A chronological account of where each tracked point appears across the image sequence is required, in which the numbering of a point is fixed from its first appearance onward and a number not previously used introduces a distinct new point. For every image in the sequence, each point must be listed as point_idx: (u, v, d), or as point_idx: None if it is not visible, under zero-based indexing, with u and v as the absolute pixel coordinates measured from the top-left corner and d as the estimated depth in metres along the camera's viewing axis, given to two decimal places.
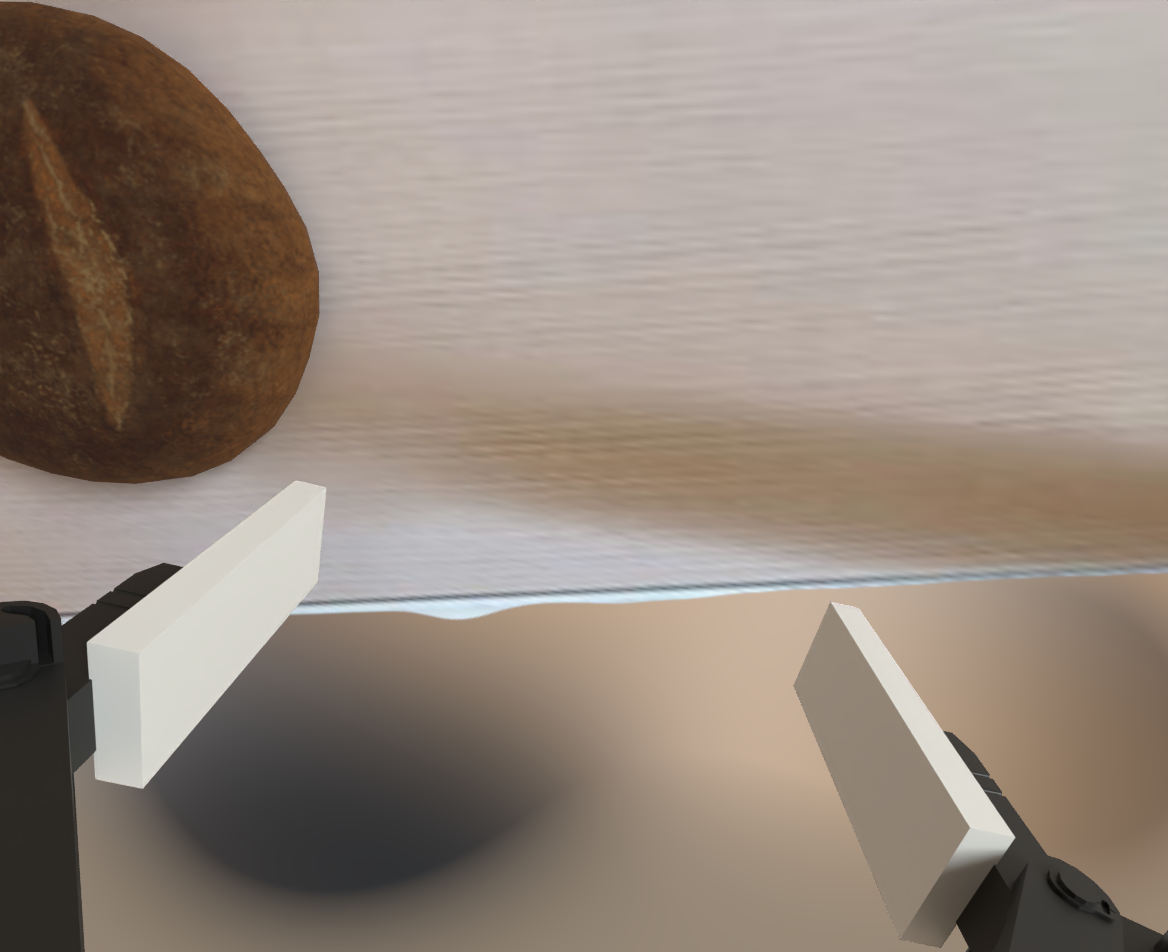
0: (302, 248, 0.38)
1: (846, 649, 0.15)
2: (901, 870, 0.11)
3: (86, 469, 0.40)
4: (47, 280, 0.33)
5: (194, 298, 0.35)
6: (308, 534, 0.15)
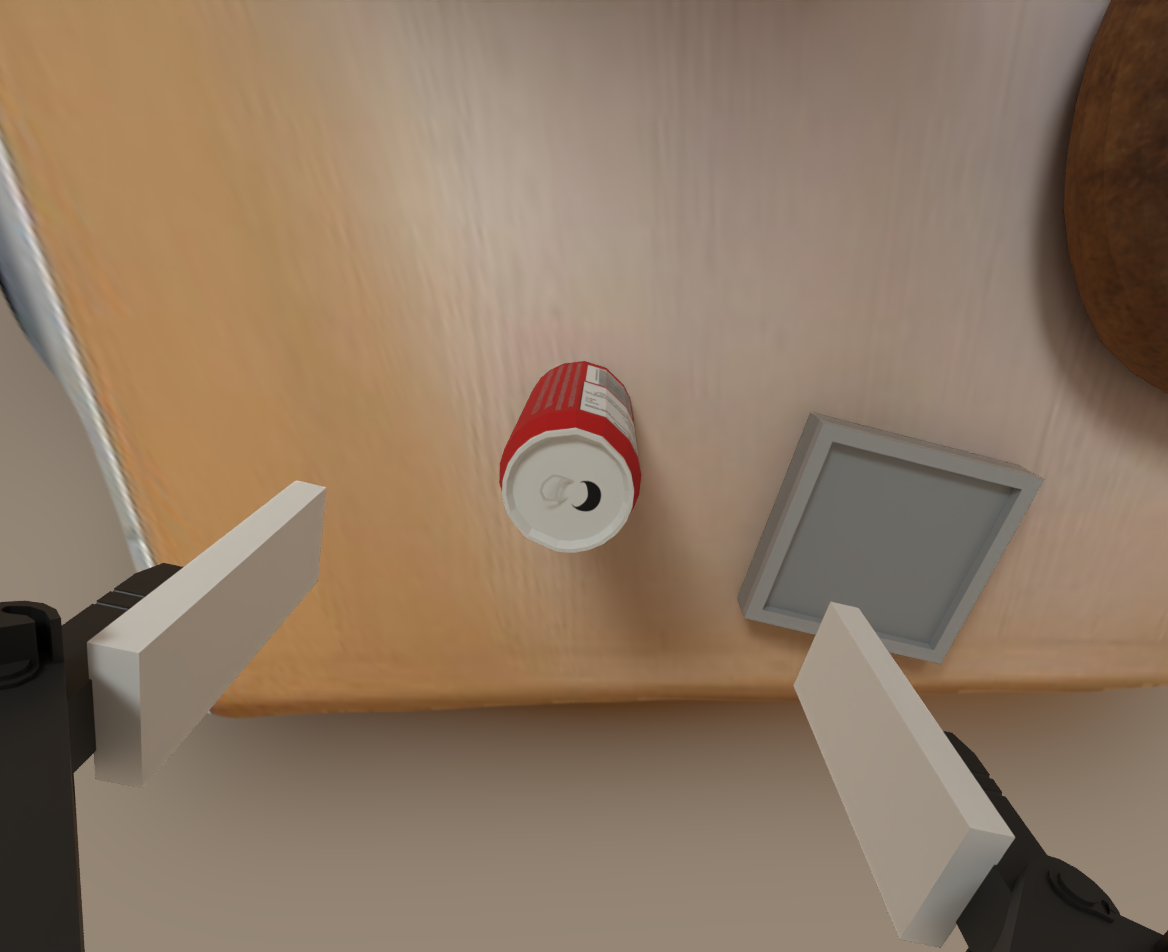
0: None
1: (845, 649, 0.15)
2: (901, 870, 0.11)
3: None
4: None
5: None
6: (308, 534, 0.15)
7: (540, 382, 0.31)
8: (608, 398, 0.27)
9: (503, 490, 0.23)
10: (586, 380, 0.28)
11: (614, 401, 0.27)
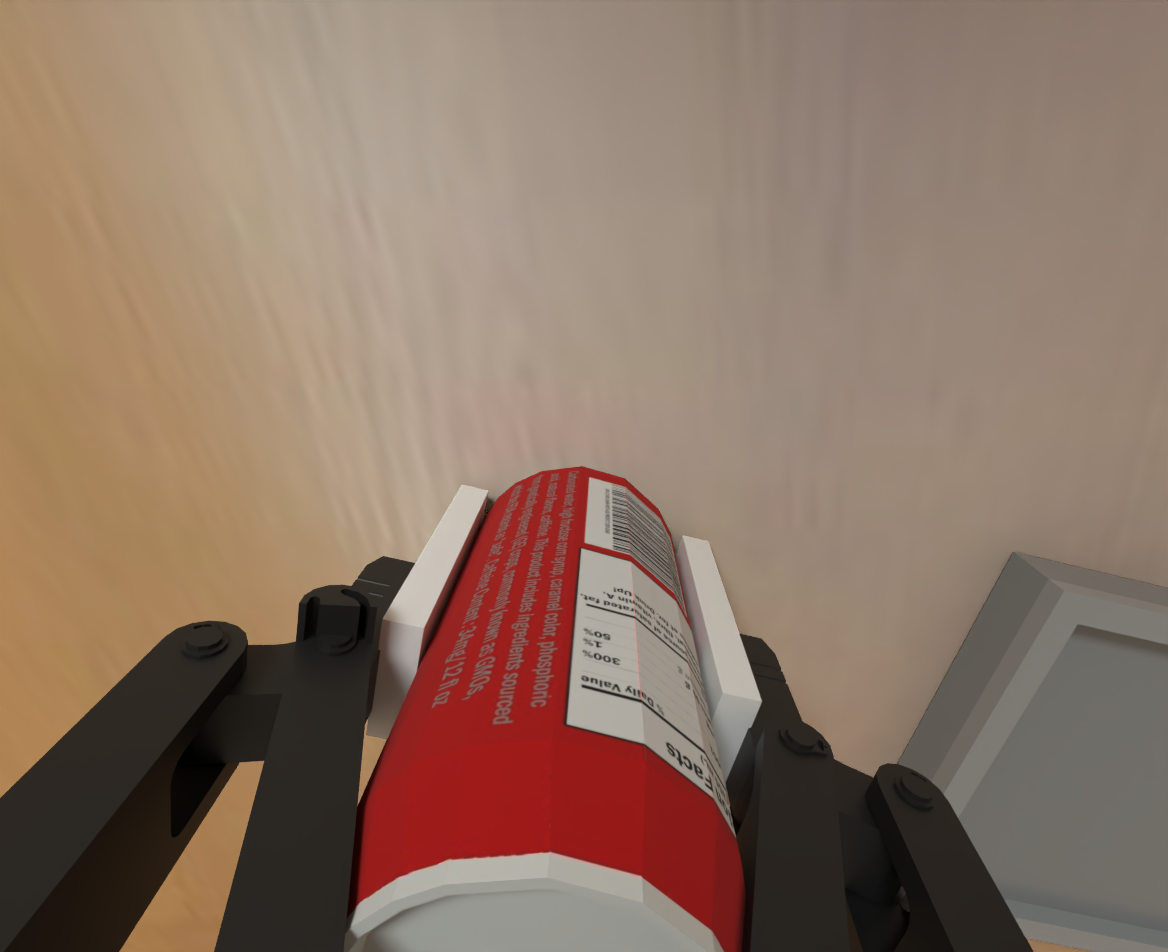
0: None
1: (684, 573, 0.16)
2: None
3: None
4: None
5: None
6: (477, 532, 0.17)
7: (493, 518, 0.15)
8: (639, 608, 0.11)
9: None
10: (586, 541, 0.13)
11: (652, 604, 0.12)
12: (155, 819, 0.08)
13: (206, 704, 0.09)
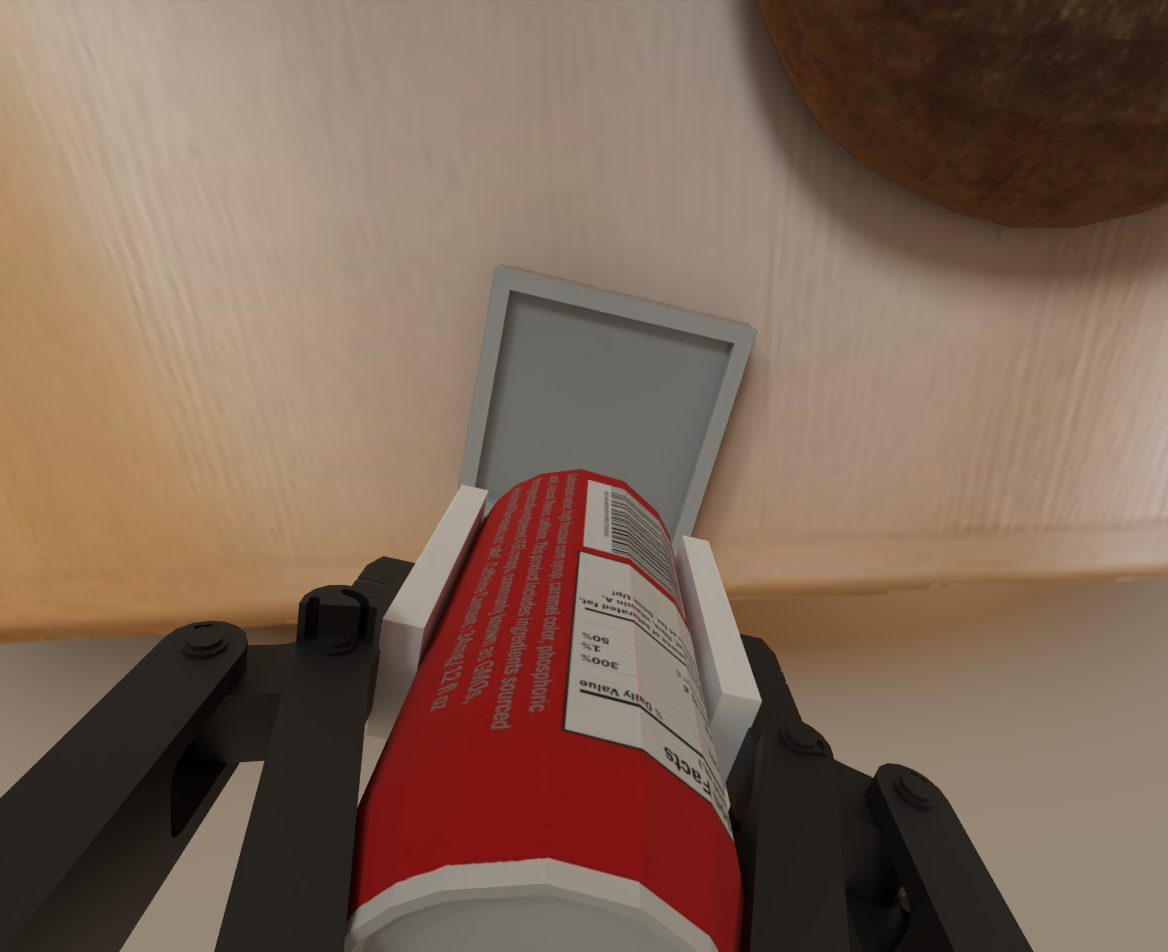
0: None
1: (684, 573, 0.16)
2: None
3: None
4: None
5: None
6: (477, 532, 0.17)
7: (492, 520, 0.15)
8: (638, 611, 0.11)
9: None
10: (584, 545, 0.13)
11: (651, 607, 0.12)
12: (155, 819, 0.08)
13: (206, 704, 0.09)
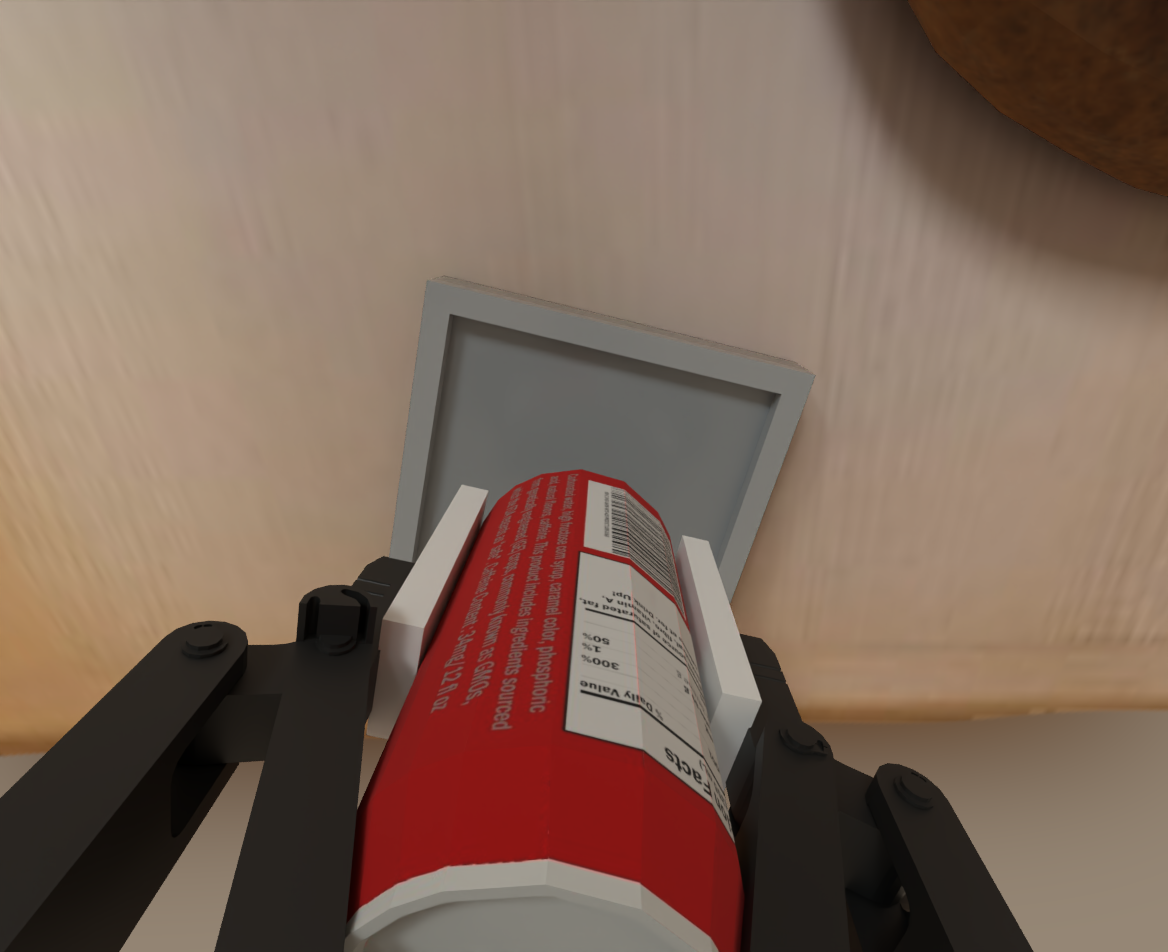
0: None
1: (684, 573, 0.16)
2: None
3: None
4: None
5: None
6: (477, 532, 0.17)
7: (492, 521, 0.15)
8: (638, 612, 0.11)
9: None
10: (585, 545, 0.13)
11: (651, 608, 0.12)
12: (155, 819, 0.08)
13: (206, 704, 0.09)
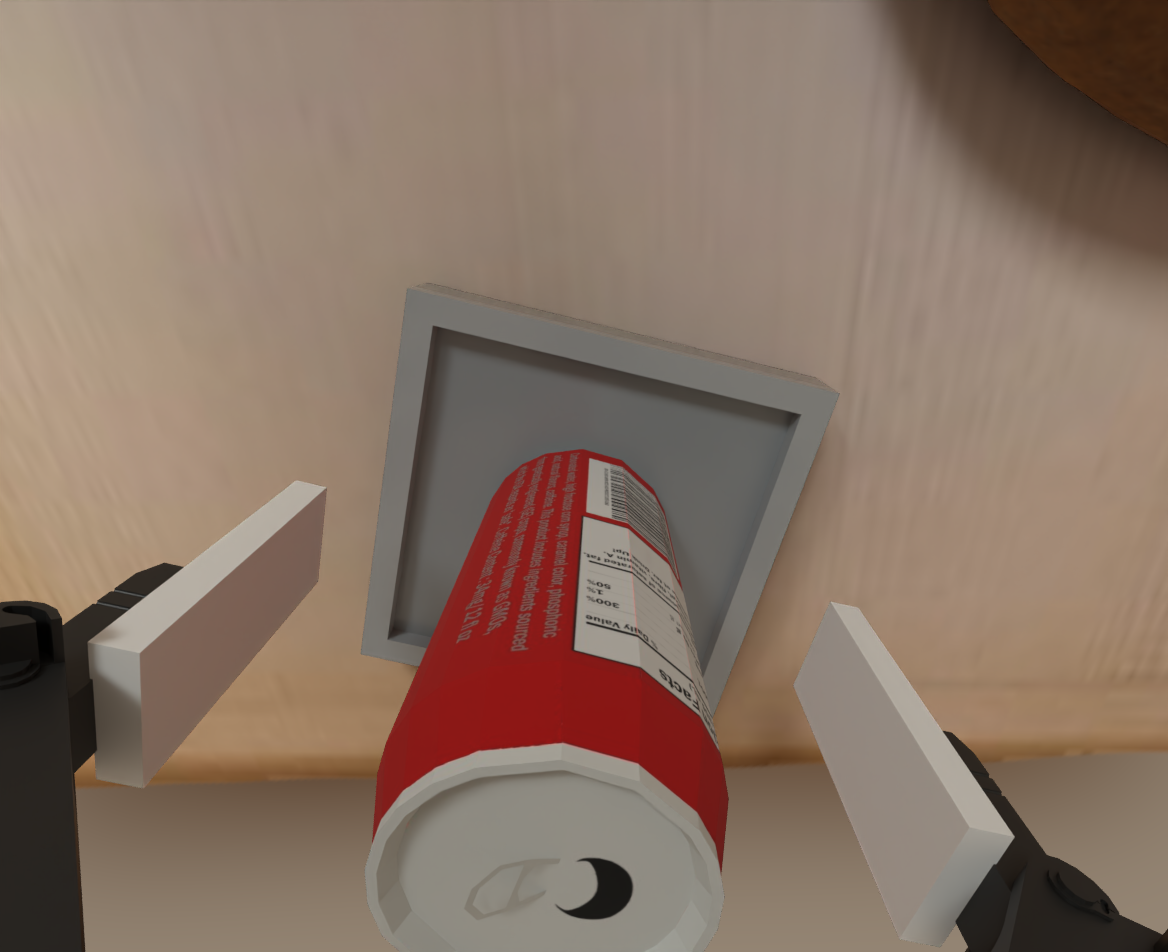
0: None
1: (845, 649, 0.15)
2: (901, 870, 0.11)
3: None
4: None
5: None
6: (308, 534, 0.15)
7: (501, 495, 0.17)
8: (636, 565, 0.12)
9: (370, 890, 0.09)
10: (587, 511, 0.14)
11: (647, 564, 0.13)
12: None
13: None
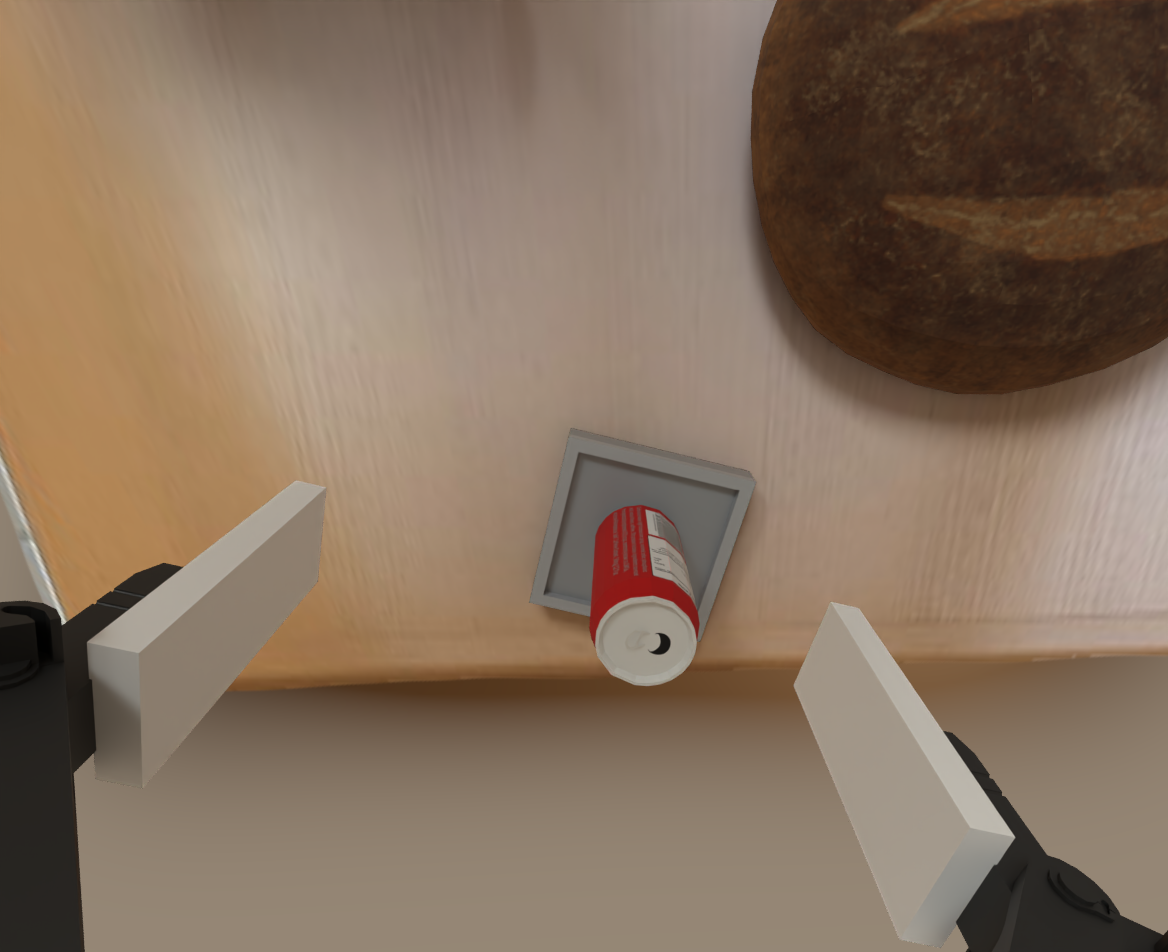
0: None
1: (846, 649, 0.15)
2: (901, 870, 0.11)
3: None
4: (1125, 17, 0.25)
5: None
6: (308, 534, 0.15)
7: (607, 525, 0.39)
8: (669, 553, 0.34)
9: (596, 640, 0.30)
10: (649, 533, 0.36)
11: (673, 553, 0.35)
12: None
13: None
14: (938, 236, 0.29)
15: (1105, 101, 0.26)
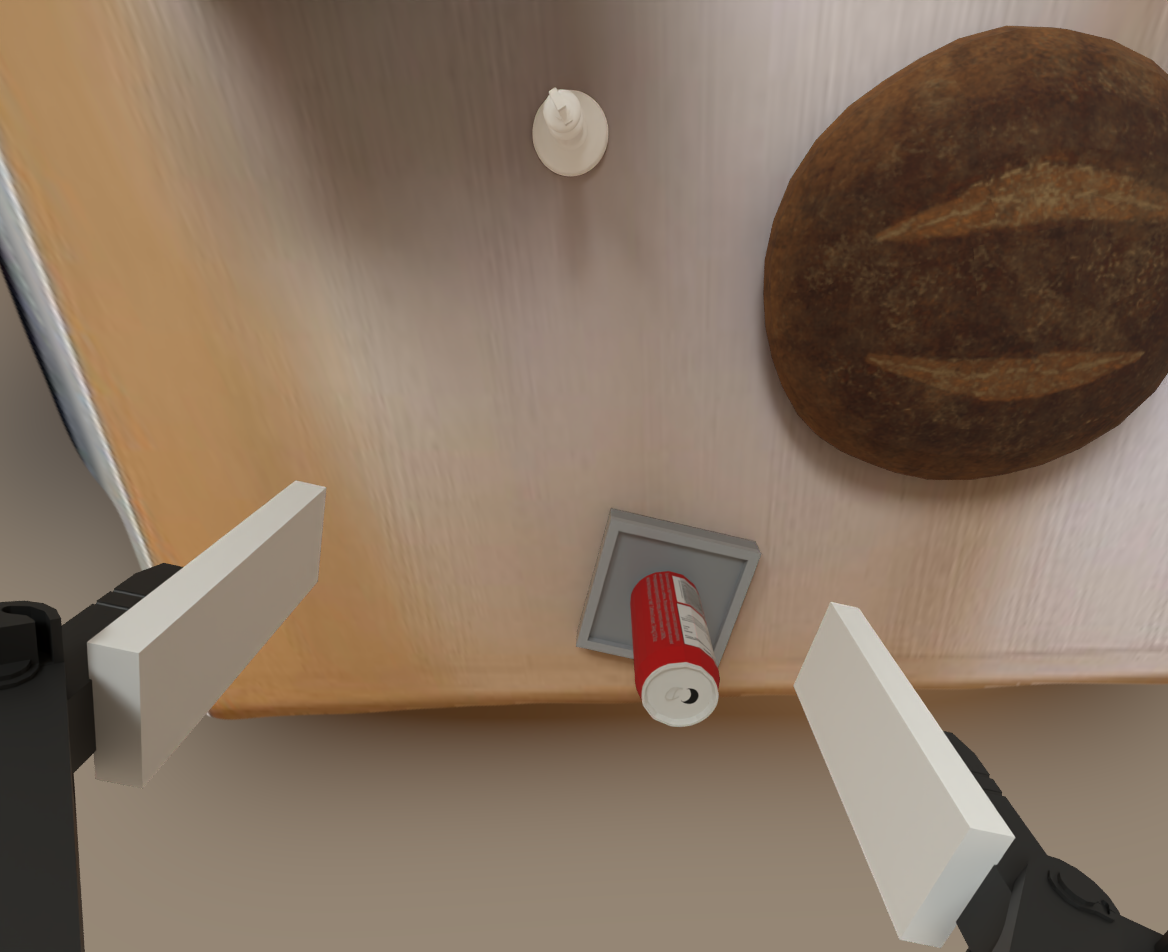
0: (985, 33, 0.36)
1: (846, 649, 0.15)
2: (901, 870, 0.11)
3: None
4: (1044, 237, 0.34)
5: (1067, 105, 0.33)
6: (308, 534, 0.15)
7: (642, 590, 0.48)
8: (694, 620, 0.44)
9: (642, 694, 0.40)
10: (677, 601, 0.45)
11: (697, 619, 0.44)
12: None
13: None
14: (908, 383, 0.38)
15: (1030, 294, 0.35)
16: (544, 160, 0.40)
